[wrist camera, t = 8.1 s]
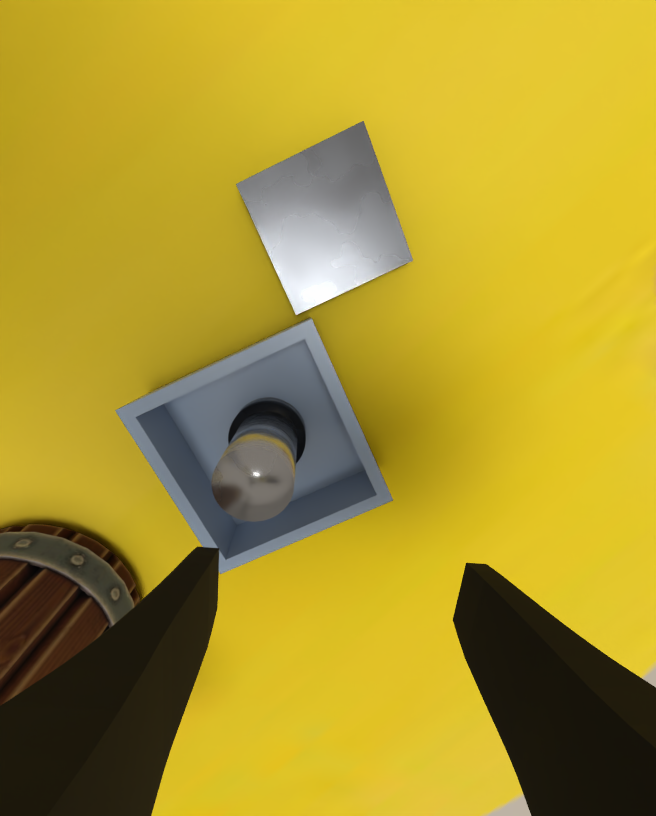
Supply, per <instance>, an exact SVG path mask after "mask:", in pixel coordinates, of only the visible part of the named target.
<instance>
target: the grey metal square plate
mask: <svg viewBox="0 0 656 816" xmlns="http://www.w3.org/2000/svg"><path fill="white" fill-rule="evenodd" d="M236 185H237V187H238V190H239V192H240V194H241V196H242V198H243V200H244V203H245V205H246V207H247V209H248V211H249V214H250V216H251V218H252V220H253V222H254V224H255V227H256V229H257V231H258V233H259V235H260V237H261V240H262V242H263V244H264V246H265V248H266V251H267V253H268V255H269V257H270V259H271V261H272V264H273V266H274V268H275V270H276V272H277V274H278V277H279V279H280V281H281V283H282V285H283V288H284V290H285V292H286V294H287V296H288V298H289V301H290V303H291V305H292V307H293V309H294V312H295V314H296V315H297V314H299V313H302V312H304V311H306V310H308V309H310V308H312V307H314V306H317V305H319V304H321V303H323V302H325V301H327V300H329V299H332V298H334V297H336V296H338V295H340V294H342V293H344V292H346V291H349V290H351V289H353V288H355V287H357V286H359V285H361V284H364V283H366V282H368V281H370V280H372V279H374V278H376V277H379V276H381V275H383V274H385V273H387V272H389V271H391V270H393V269H396V268H398V267H400V266H402V265H404V264H406V263H408V262H411V261H413V259H412V256H411V253H410V250H409V248H408V245H407V242H406V239H405V236H404V234H403V231H402V228H401V225H400V222H399V219H398V217H397V214H396V211H395V208H394V205H393V203H392V200H391V197H390V194H389V191H388V188H387V186H386V183H385V180H384V177H383V174H382V172H381V169H380V166H379V163H378V160H377V158H376V155H375V152H374V149H373V146H372V143H371V141H370V138H369V135H368V132H367V129H366V127H365V124H364V121H362V122H360V123H358V124H356V125H354V126H352V127H350V128H348V129H346V130H344V131H342V132H340V133H338V134H336V135H334V136H332V137H330V138H328V139H326V140H324V141H322V142H320V143H318V144H316V145H314V146H312V147H310V148H308V149H306V150H304V151H302V152H300V153H298V154H296V155H294V156H292V157H290V158H288V159H286V160H284V161H282V162H280V163H278V164H276V165H274V166H272V167H270V168H268V169H266V170H264V171H262V172H260V173H257V174H255V175H253V176H251V177H249V178H247V179H245V180H243V181H241V182H239V183H237V184H236Z"/></svg>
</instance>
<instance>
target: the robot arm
mask: <svg viewBox="0 0 656 816" xmlns="http://www.w3.org/2000/svg"><path fill="white" fill-rule="evenodd" d="M218 573H219V548H209V547H197V548H195V549H194V550H193V551H192V552H191V553H190V554H189V555H188V556H187V557H186V558H185V559H184V560H183V561H182V562H181V563H180V564H179V565H178V566H177V567H176V568H175V569H174V570H173V571H172V572H171V573H170V574H169V575H168V576H167V577H166V578H165V579H164V580H163V581H162V582H161V583H160V584H159V585H158V586H157V587H156V588H154V589H153V590H152V591H151V592H150V593H149V594H148V595H147V596H146V597H145V598H144V599H143V600H142V601H141V602H139V603H138V604H137V605H136V606H135V607H134V608H133V609H131V610H130V611H129V612H128V613H127V614H126V615H124V616H123V617H122V618H121V619H120V620H119V621H117V622H116V623H115V624H114V625H113V626H112V627H110V628H109V629H108V630H107V631H106V632H104V633H103V634H102V635H101V636H99V637H98V638H97V639H96V640H94V641H93V642H92V643H90V644H89V645H88V646H86V647H85V648H84V649H82V650H81V651H80V652H78V653H77V654H76V655H74V656H73V657H72V658H70V659H69V660H68V661H66V662H65V663H64V664H62V665H61V666H59V667H58V668H56V669H55V670H54V671H52V672H51V673H49V674H48V675H46V676H45V677H43V678H42V679H40V680H39V681H37V682H36V683H34V684H33V685H31V686H30V687H28V688H27V689H25V690H24V691H22V692H21V693H19V694H18V695H16V696H15V697H13V698H12V699H10V700H8V701H7V702H5V703H4V704H2V705H1V706H0V816H151V814H152V810H153V807H154V803H155V800H156V796H157V793H158V789H159V786H160V782H161V779H162V775H163V772H164V768H165V765H166V762H167V759H168V756H169V753H170V750H171V747H172V744H173V741H174V738H175V736H176V733H177V730H178V727H179V725H180V722H181V719H182V716H183V714H184V711H185V708H186V705H187V703H188V700H189V697H190V694H191V692H192V689H193V686H194V683H195V681H196V678H197V675H198V672H199V670H200V667H201V664H202V661H203V658H204V656H205V653H206V650H207V647H208V643H209V639H210V636H211V632H212V628H213V624H214V620H215V615H216V611H217V601H218ZM453 622H454V625H455V628H456V632H457V635H458V638H459V641H460V644H461V647H462V650H463V653H464V656H465V659H466V661H467V664H468V666H469V668H470V670H471V673H472V675H473V677H474V680H475V682H476V684H477V686H478V689H479V691H480V693H481V695H482V697H483V700H484V702H485V704H486V706H487V708H488V711H489V713H490V715H491V717H492V720H493V722H494V724H495V726H496V728H497V731H498V733H499V735H500V737H501V739H502V742H503V744H504V746H505V748H506V750H507V753H508V755H509V758H510V760H511V762H512V765H513V767H514V770H515V772H516V775H517V777H518V780H519V783H520V785H521V788H522V791H523V794H524V796H525V799H526V802H527V804H528V807H529V810H530V813H531V816H656V688H655V687H654V686H652V685H651V684H649V683H648V682H646V681H645V680H643V679H642V678H640V677H639V676H637V675H636V674H634V673H632V672H631V671H629V670H628V669H626V668H625V667H623V666H622V665H620V664H619V663H617V662H616V661H614V660H613V659H611V658H610V657H608V656H607V655H605V654H604V653H603V652H601V651H600V650H598V649H597V648H596V647H594V646H593V645H591V644H590V643H589V642H587V641H586V640H585V639H583V638H582V637H580V636H579V635H578V634H576V633H575V632H574V631H572V630H571V629H570V628H568V627H567V626H566V625H564V624H563V623H562V622H560V621H559V620H558V619H556V618H555V617H554V616H552V615H551V614H550V613H549V612H547V611H546V610H545V609H543V608H542V607H541V606H540V605H538V604H537V603H536V602H535V601H533V600H532V599H531V598H530V597H528V596H527V595H526V594H525V593H523V592H522V591H521V590H520V589H518V588H517V587H516V586H514V585H513V584H512V583H511V582H509V581H508V580H507V579H506V578H504V577H503V576H502V575H500V574H499V573H498V572H496V571H495V570H494V569H492V568H491V567H490V566H488V565H487V564H475V563H466V566H465V570H464V575H463V579H462V583H461V587H460V592H459V596H458V600H457V604H456V609H455V613H454V617H453Z"/></svg>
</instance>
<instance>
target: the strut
mask: <svg viewBox="0 0 656 816" xmlns="http://www.w3.org/2000/svg"><path fill="white" fill-rule="evenodd" d="M305 443H306V429H305V424H304V420H303V418H302V416H301V415H300V413H299V412H298V411H297V409H296V408H295V407H294V406H292V405H291V404H290V403H288V402H286V401H284V400H281V399H278V398H272V397H265V398H259V399H256V400H253V401H251V402H250V403H248V404H246V405H245V406H244V407H243V408H242V409H241V410H240V411H239V413H238V414H237V416H236V417H235V419H234V420H233V422H232V424H231V426H230V429H229V434H228V444H229V445H228V447H227V449H226V450H225V452H224V454H223V455H222V457H221V459H220V460H219V462H218V464H217V466H216V467H215V469H214V472H213V475H212V482H211V485H212V492H213V495H214V498H215V500H216V501H217V503H218V504H219V506H220V507H221V508H222V509H223V510H224V511H225V512H227V513H228V514H229V515H231V516H233V517H235V518H237V519H240V520H244V521H251V522H256V521H264V520H267V519H270V518H273V517H274V516H276V515H278V514H279V513H281V512H282V511H283V510H284V509H285V508H286V507H287V505H288V504H289V502H290V500H291V498H292V495H293V492H294V482H295V469H296V463H297V462H298V461H299V460H300V458H301V456H302V454H303V452H304V449H305Z"/></svg>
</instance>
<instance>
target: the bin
mask: <svg viewBox="0 0 656 816" xmlns="http://www.w3.org/2000/svg"><path fill="white" fill-rule="evenodd" d="M265 397H272V398H278V399H281V400H284V401H286V402H288V403H290V404H291V405H292V406H294V407H295V408H296V409H297V411H298V412H299V413H300V415H301V416H302V418H303V420H304V424H305V429H306V443H305V449H304V452H303V454H302V456H301V458H300V460H299V461H298V462H297V463H296V469H295V482H294V492H293V495H292V498H291V500H290V502H289V504H288V505H287V507H286V508H285V509H284V510H283V511H282V512H281V513H279V514H278V515H276V516H274V517H273V518H270V519H267V520H264V521H256V522H251V521H244V520H240V519H237V518H235V517H233V516H231V515H229V514H228V513H227V512H225V511H224V510H223V509H222V508H221V507H220V506H219V504H218V503H217V501H216V500H215V498H214V495H213V492H212V485H211V482H212V475H213V472H214V469H215V467H216V466H217V464H218V462H219V460H220V459H221V457H222V455H223V454H224V452H225V450H226V449H227V447H228V445H229V444H228V434H229V429H230V426H231V424H232V422H233V420H234V419H235V417H236V416H237V414H238V413H239V411H240V410H241V409H242V408H243V407H244V406H245V405H246V404H248V403H250V402H251V401H253V400H256V399H259V398H265ZM115 411H116V413H117V414H118V416H119V417H120V419H121V420H122V422H123V423H124V425H125V427H126V428H127V430H128V431H129V433H130V434H131V436H132V437H133V439H134V440H135V442H136V444H137V445H138V447H139V448H140V450H141V451H142V453H143V454H144V456H145V458H146V459H147V461H148V462H149V464H150V465H151V467H152V468H153V470H154V472H155V473H156V475H157V476H158V478H159V479H160V481H161V482H162V484H163V485H164V487H165V489H166V490H167V492H168V493H169V495H170V496H171V498H172V499H173V501H174V503H175V504H176V506H177V507H178V509H179V510H180V512H181V513H182V515H183V516H184V518H185V520H186V521H187V523H188V524H189V526H190V527H191V529H192V530H193V532H194V534H195V535H196V537H197V538H198V540H199V541H200V543H201V544H202V546H203V547H209V548H219V572H220V574H222V573H224V572H226V571H229V570H231V569H233V568H236V567H238V566H240V565H243V564H245V563H247V562H250V561H252V560H254V559H257V558H259V557H261V556H264V555H266V554H268V553H271V552H273V551H276V550H278V549H280V548H283V547H285V546H287V545H290V544H292V543H294V542H297V541H299V540H301V539H304V538H306V537H308V536H311V535H313V534H315V533H318V532H320V531H322V530H325V529H327V528H329V527H332V526H334V525H336V524H339V523H341V522H343V521H346V520H348V519H350V518H353V517H355V516H357V515H360V514H362V513H364V512H367V511H369V510H371V509H374V508H376V507H378V506H381V505H383V504H385V503H388V502H390V501H392V500H393V499H392V497H391V494H390V492H389V490H388V488H387V485H386V483H385V481H384V479H383V477H382V474H381V472H380V470H379V468H378V465H377V463H376V461H375V459H374V456H373V454H372V452H371V450H370V448H369V445H368V443H367V441H366V439H365V436H364V434H363V432H362V430H361V427H360V425H359V423H358V421H357V419H356V416H355V414H354V412H353V410H352V407H351V405H350V403H349V401H348V399H347V396H346V394H345V392H344V390H343V387H342V385H341V383H340V381H339V378H338V376H337V374H336V372H335V370H334V367H333V365H332V363H331V361H330V358H329V356H328V354H327V352H326V349H325V347H324V345H323V343H322V341H321V338H320V336H319V334H318V332H317V329H316V327H315V325H314V323H313V320H312V318H311V317H310V318H308V319H306V320H304V321H302V322H300V323H297V324H295V325H293V326H291V327H289V328H287V329H285V330H282V331H280V332H278V333H276V334H274V335H272V336H270V337H267V338H265V339H263V340H261V341H259V342H257V343H255V344H252V345H250V346H248V347H246V348H244V349H242V350H240V351H237V352H235V353H233V354H231V355H229V356H227V357H225V358H222V359H220V360H218V361H216V362H214V363H212V364H210V365H207V366H205V367H203V368H201V369H199V370H197V371H195V372H192V373H190V374H188V375H186V376H184V377H182V378H180V379H177V380H175V381H173V382H171V383H169V384H167V385H165V386H162V387H160V388H158V389H156V390H154V391H152V392H150V393H148V394H146V395H144V396H142V397H140V398H138V399H136V400H134V401H132V402H131V403H129V404H127V405H125V406H123V407H121V408H119V409H117V410H115Z"/></svg>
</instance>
